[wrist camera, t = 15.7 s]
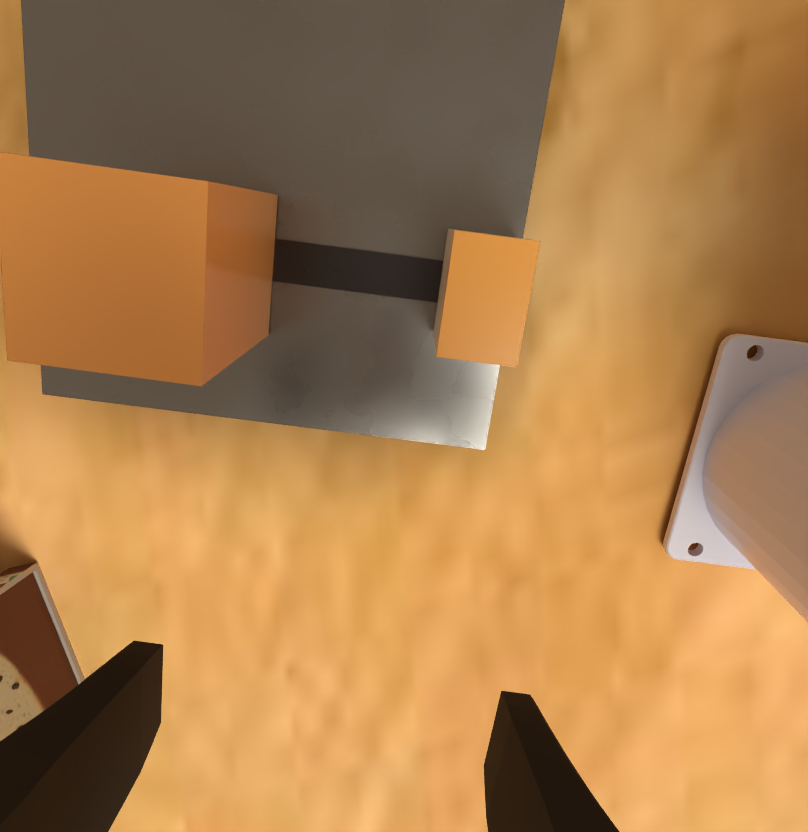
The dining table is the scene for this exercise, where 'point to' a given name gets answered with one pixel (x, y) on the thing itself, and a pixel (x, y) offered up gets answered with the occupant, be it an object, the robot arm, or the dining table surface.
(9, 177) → the block
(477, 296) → the block
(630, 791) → the dining table surface
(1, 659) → the food container
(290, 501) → the dining table surface
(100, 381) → the panel
